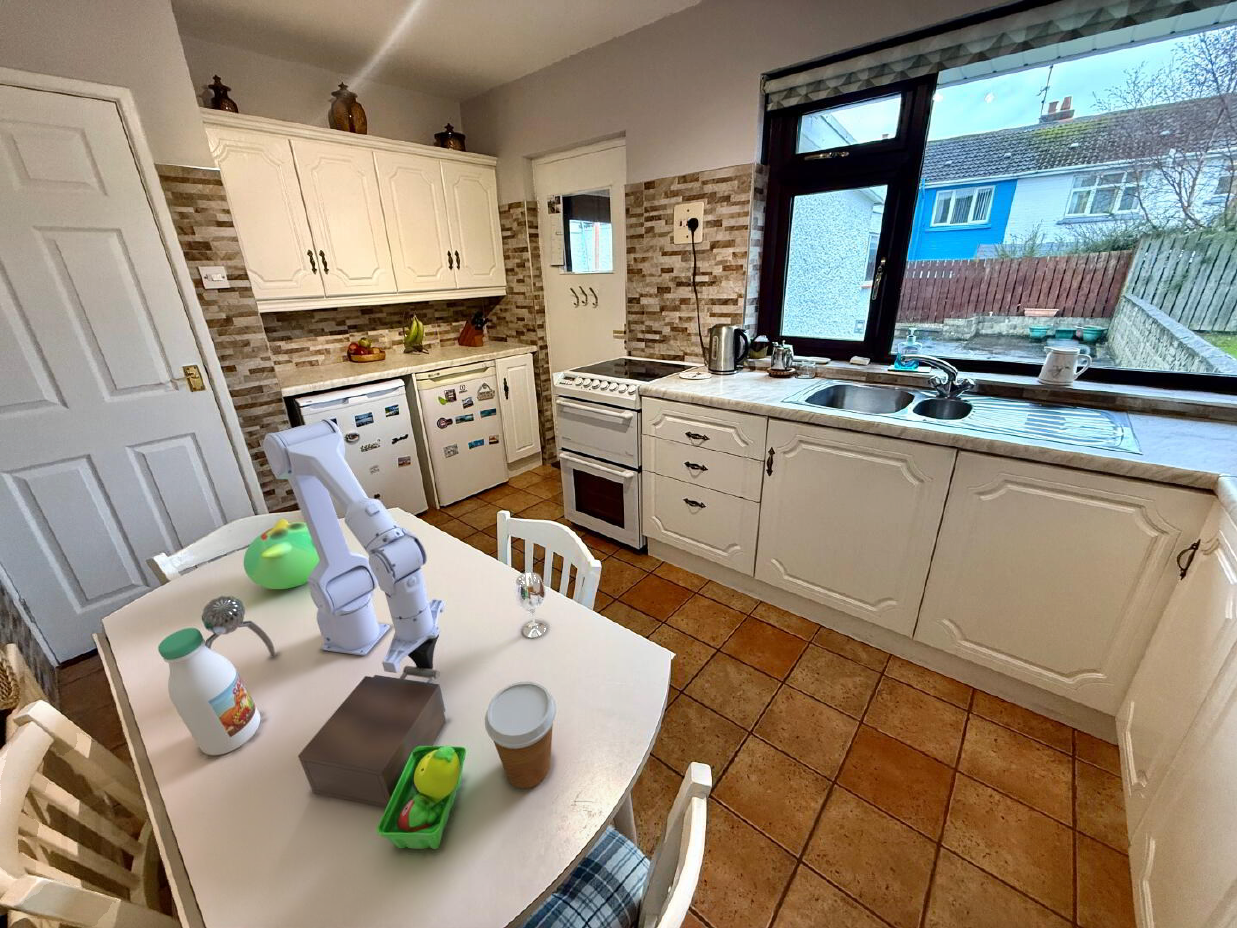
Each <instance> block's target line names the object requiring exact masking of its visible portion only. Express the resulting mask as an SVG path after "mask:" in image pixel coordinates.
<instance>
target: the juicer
mask: <svg viewBox="0 0 1237 928" xmlns="http://www.w3.org/2000/svg"><path fill="white" fill-rule="evenodd" d="M245 615H246V608H245V606H244V604H243V602H242V601H241V600H240V599H239V598H236V597H235V596H232V595H227V596H226V595H221V596H218V597H217V598H213V599H211V600H210V601H209V602H208V604H206V605H205V606H204V607H203V609H202V614H201V622H202V624H203V627H204V629H206V631H208V632H210V633H212V634H211V635H210V636H209V637H208V638H206V639H205V646H206V647H208V648H209V649H210V650H212V645H213V644H214V641H215V640H216V639H218V638H219V637H220V636H222V635H223V636H227V635H229V634H232V633H234V632H235V631H237V629H239V628H245V627H246V628H248V629H249V630H250V631H252V632H253V633H254V634H256V635H257V637H258V638H259V639H260V640H261V641H262V642H263V644H264V645H265V647H266V648H267V650H268V652H269V656H270V657H275V655H276V650H275V649H276V648H275V645H274V644H273V641H272V639H271V638H270V637H269V635H268V634H267V633H266V632H265V631H264V630H263V629H262V627H259V626H258V624H257V623H255V622H253V621H252V620H244V619H245Z"/></svg>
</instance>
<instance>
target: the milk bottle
mask: <svg viewBox="0 0 1237 928" xmlns="http://www.w3.org/2000/svg"><path fill="white" fill-rule="evenodd" d="M205 642H206V639H205V638H204V636H203V634H202V632H201V631H200V630H199V629H198V628H195V627H188V628H187V627H186V628H183V629H180V630H177V631H175V632H173V633H171V634H169V635H168V636H166V637H165V638H164V639H162V641H161V642H160V643H159V645H158V646H157V649H158V653H159V655H160V656H161V658H163V661H164V662H165V663H168V666H169V667H168V668H169V675H168V681H167V682H168V684H167V690H168V695H169V698H170V701H171V703H172V705H173V707H174V708H175V710H176V712H177V714H178V715H179V717H180V719H181V720H182V723H183V724H184V725H185V727H186V728H187V730H188V732H189V733H190V734H191V736H192V738H193V739H194V741H195V742H196V744H197V745H198V748H199V749H200V750H201V751H202V753H204V754H206V755H209V756H221V755H224V754H228V753H230V752H232V751H234V750H236V749H238V748H240V747H241V746H242V745H244V744H245V743H246V742H248V741H249V740H250V739H251V738H252V737H253V736H254V735H255V733H257V730H258V728H259V726H260V724H261V714H260V712H259V709H258V707H257V706H256V704H255V702H254V700H253V698H252V696H251V694H250V693H249V690H248V689H247V687H246V685H245V683H244V681H243V679H242V678H241V676H240V674H239V672H238V670H237V669H236V667H235V666H234V665H233V664H232V662H231V661H230V660H229V659H228V658H227V657H225V656H224V655H222V654H220V653H218V652H216V651H214V650H212V649H209V648H208V647H206V646H205Z"/></svg>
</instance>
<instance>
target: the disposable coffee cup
mask: <svg viewBox="0 0 1237 928" xmlns="http://www.w3.org/2000/svg"><path fill="white" fill-rule="evenodd" d="M556 714H557V705H556V701H555V699H554V697H553V696H552V695H551V692H549V691H548V689H546V687H544V686H543V685H542V684H540V683H537V682H534V681H530V680H529V681H525V680H524V681H517V682H514V683H511V684H509V685H506V686H505V687H504V688H502V689H500V690H499V691H498V692H497V693H496V694H494V696H493V697H492V698H491V700H490V702H489V704H488V707H487V710H486V712H485V716H484V727H485V731H486V733H487V735H488V737H489V738H490V739H491V740H492V741H493V743H494V746H495V749H496V751H497V754H498V756H499V760H500V763H501V765H502V767H503V769H504V772H505V775H506V778H507V780H508V781H509V782H510V784H511V785H512V786H514V787H515V788H518V789H531V788H534V787H536V786H538V785H539V784H540V783H542V782H543V781H544V780H545V779H546V778H547V776H548V774H549V772H550V769H551V758H552V741H553V740H552V739H553V727H554V722H555V719H556Z"/></svg>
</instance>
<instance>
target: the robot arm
mask: <svg viewBox="0 0 1237 928" xmlns="http://www.w3.org/2000/svg"><path fill="white" fill-rule="evenodd" d="M262 443H263V445H262V448H263V452H264V454H265V457H266V459H267V462H268V465H269V467H270V469H271V473H272V474H273V475H274V477H275V479H276V480H287V481H288V483H289V485H290V487H291V489H292V491H293V494H294V497H295V500H296V502H297V505H298V507H299V510H300V512H301V513H300V514H301V516H302V517H303V521H305V523H306V526H307V528H308V531H309V533H310V536H311V539H312V541H313V544H314V546H315V549H316V552H317V554H318V557H319V560H320V561H319V562H318V564H317V565H316V566H315V567H314V569H313V570H312V571H311V573H310V574H309V575H308V582H307V583H308V586H309V594H310V597H311V599H312V601H313V604H314V605H315V606H316V608H317V612H316V622H317V626H318V628H319V631H320V634H321V635H320V636H321V637H322V640H323V645H322V646H321V650H323V651H329V652H334V653H335V652H336V653H342V654H343V653H344V654H350V655H357V656H366V655H367V654H368V653H369V652H370V651H371V649H372V648H373V647H374V646H375V645H376V644H377V643H378V642H379V641H380V639H382V638H383V636H384V635H385V634H386V633H387V631H388V630H389V629H390V628H391V625H390V624H387V623H386V624H385V623H379V621H378V617H377V614H376V611H375V607H374V603H373V600H372V597H374V596H375V594H374V590H376V589H377V588H378V587H379V588H380V590H381V591H382V592H383V593H384V595H385V598H386V603H387V607H388V610H389V613H390V617H391V623H392V625H393V628H394V634H393V636H392V639H391V642H390V645H389V647H388V650H387V653H386V655H385V657H384V658H383V660H382V662H381V664H382V667H383V670H384V672H387V673H393V674H396V673H398V671H399V670H400V663H401V662H402V661H403V660H404V658H406V657H407V656H408V657H409V658H410V659H411V661H412V662H413V663H414V664H415V667H420V668H427V669H434V653H435V648H436V645H437V641H438V639H439V637H440V633H441V627H440V626H438V622H439V621H438V620H439V616H440V613H441V614H442V613H443V612H444V611H445V610H446V605H445V601H444V599H436V598H432V600H431V601H429V596H428V592H427V588H426V587H427V586H426V583H425V579H424V574H423V570H422V566H424V565H426V564H427V561H428V560H427V559H428V556H427V552H426V549H425V547H424V544H422V542H421V541H420V538H419V537H418V536H417V535H416V534H415V533H413V532H411V531H409V530H408V529H407V528H406V527H404V526H402V527H401V526H400V525H399V524H398V522H397V521H396V520H395V518H394V517H393V516H392V515H391V513H390V512H389V511H388V510H387V508H386V506H385V505H384V504H383V502H381V500H379V499H377V498H371V497H368V495H367V493H366V492H365V490H364V488H363V487H362V485H361V483H360V482H359V480H358V479H357V477H356V475H355V474H354V472H353V471H352V469H351V467H350V465H349V464H348V462H347V461H346V459H345V457H346V446H345V445H346V444H345V439H344V436H343V432H342V431H341V429H340V427H339V426H338V424H337V423H335V422H334V421H332V420H331V419H329V418H323V419H321V420H318V421H315V422H311V423H307V424H304V425H299V426H296V427H292V428H288V429H284V430H280V431H277V432H268V433H266V434H265V436H264V439H263V442H262ZM331 496H332V497H333V498H334V499H335V500H336V501H337V502H338V503H339V504H340V506H341V507H342V508H343V509H344V510H345V511H346V512H345V516H344V524H345V525H346V527H347V528H348V529H349V530H350V532H351V533H352V534H353V537H354V538H355V539H356V540H357V541H358V543H359V545H360V546H362V548H363V550H364V551H365V552H366V554H367V555H368V557H367V556H365V555H364V554H362V553H360V552H357V551H351V550H350V549H349V546H348V543H347V540H346V537H345V535H344V531H343V529H342V526H341V524H340V520H339V518H338V514H337V512H336V508H335V507H334V504H333V501H332V498H331Z"/></svg>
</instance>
